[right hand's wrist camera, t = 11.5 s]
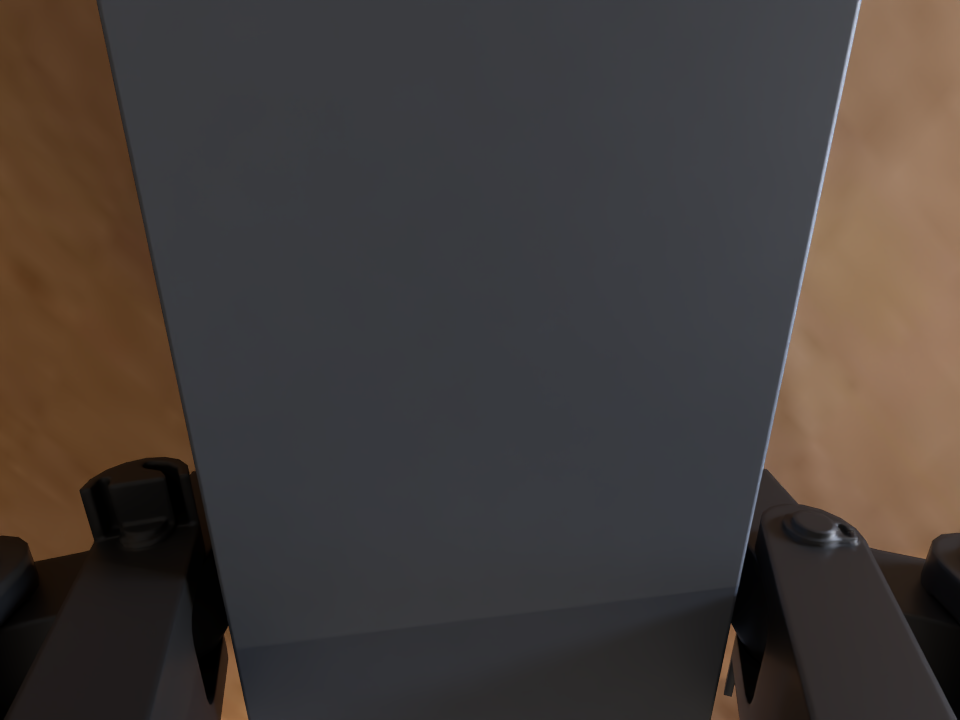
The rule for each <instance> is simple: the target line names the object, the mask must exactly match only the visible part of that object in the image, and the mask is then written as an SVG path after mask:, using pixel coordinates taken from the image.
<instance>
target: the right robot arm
mask: <svg viewBox="0 0 960 720" xmlns="http://www.w3.org/2000/svg"><path fill="white" fill-rule="evenodd" d="M79 491H80V494H81V498H82V501H83V504H84V508H85V511H86V514H87V518H88V521H89V524H90V528H91V531H92V534H93V538H94V543H93V545H92V547H91V549H90V550H89V551H85V552H81V553H76V554H71V555H66V556H61V557H56V558H51V559H46V560H41V561H36V562H34V560H33V557H32V555H31V552H30V549H29V546H28V543H26V542H25V541H23V540H22V539H21V538H19V537H12V536H0V720H221V712H222V704H223V696H224V689H225V681H226V673H227V665H228V653H227V646H226V641H225V637H224V633H225V631H226V629H227V627H228V620H227V615H226V611H225V606H224V601H223V597H222V592H221V587H220V582H219V578H218V573H217V568H216V563H215V559H214V554H213V549H212V544H211V540H210V535H209V530H208V526H207V521H206V516H205V511H204V507H203V502H202V497H201V492H200V488H199V483H198V478H197V473H196V471H193V472H192V473H191V474H189V469H188V465H186V464H185V463H183V462H182V461H181V460H179V459H173V458H168V457H156V458H144V459H140V460H135V461H131V462H126V463H123V464H121V465H118V466H116V467H113V468H110V469H108V470H105V471H104V472H102V473H100V474H99V475H97V476H95V477H93V478H92V479H90V480H89V481H88V482H87V483H86V484H85V485H84V486H83V487H82V488H81V489H80V490H79ZM731 624H732V625H733V627H734V629H735V631H736V637H735V641H734V646H733V651H732V655H731V660H730V665H729V669H728V674H727V679H726V683H725V690H724V695H727V696H731V697H732V693H733V688H734V685H735V687H736V695H737V703H738V711H739V718H740V720H960V533H952V534H941V535H940V536H939V537H937V538H936V539H934V540H933V541H932V544H931V547H930V549H929V552H928V555H927V558H926V559H922V558H917V557H912V556H907V555H901V554H896V553H891V552H886V551H881V550H877V549H873V548H869V546H868V544H867V542H866V540H865V539H864V538H863V537H862V535H861V534H860V533H859V532H858V531H857V529H856V528H854V527H853V526H851V525H850V524H848V523H847V522H846V521H844V520H843V519H841V518H839V517H837V516H835V515H833V514H830V513H828V512H826V511H824V510H821V509H817V508H813V507H809V506H805V505H800V504H798V503H797V502H796V501H795V500H794V499H793V498H792V497H791V496H790V495H789V493H788V492H787V491H786V490H785V489H784V488H783V487H782V486H781V485H780V483H779V482H778V481H777V480H776V479H775V478H774V477H773V476H772V474H771V473H770V472H769V471H768V470H767V469H764V467H763V472H762V477H761V482H760V486H759V491H758V496H757V501H756V506H755V510H754V515H753V520H752V525H751V529H750V534H749V539H748V544H747V548H746V553H745V558H744V563H743V568H742V572H741V577H740V582H739V587H738V591H737V596H736V601H735V606H734V610H733V615H732V620H731Z"/></svg>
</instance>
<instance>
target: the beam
mask: <svg viewBox="0 0 960 720" xmlns="http://www.w3.org/2000/svg"><path fill="white" fill-rule="evenodd" d="M97 5H98V10H99V14H100V19H101V24H102V29H103V33H104V38H105V43H106V48H107V52H108V57H109V62H110V67H111V71H112V76H113V81H114V85H115V90H116V95H117V100H118V104H119V109H120V114H121V119H122V123H123V128H124V133H125V138H126V142H127V147H128V152H129V156H130V161H131V166H132V171H133V175H134V180H135V185H136V190H137V194H138V199H139V204H140V208H141V213H142V218H143V223H144V227H145V232H146V237H147V242H148V246H149V251H150V256H151V261H152V265H153V270H154V275H155V279H156V284H157V289H158V294H159V298H160V303H161V308H162V313H163V317H164V322H165V327H166V332H167V336H168V341H169V346H170V350H171V355H172V360H173V365H174V369H175V374H176V379H177V384H178V388H179V393H180V398H181V403H182V407H183V412H184V417H185V421H186V426H187V431H188V436H189V440H190V445H191V450H192V455H193V459H194V464H195V469H196V473H197V478H198V483H199V488H200V492H201V497H202V502H203V507H204V511H205V516H206V521H207V526H208V530H209V535H210V540H211V544H212V549H213V554H214V559H215V563H216V568H217V573H218V578H219V582H220V587H221V592H222V597H223V601H224V606H225V611H226V615H227V620H228V625H229V630H230V634H231V639H232V644H233V649H234V653H235V658H236V663H237V667H238V672H239V677H240V682H241V686H242V691H243V696H244V701H245V705H246V710H247V715H248V720H711V715H712V711H713V706H714V701H715V696H716V692H717V687H718V682H719V677H720V672H721V668H722V663H723V658H724V653H725V649H726V644H727V639H728V634H729V630H730V625H731V620H732V615H733V610H734V606H735V601H736V596H737V591H738V587H739V582H740V577H741V572H742V568H743V563H744V558H745V553H746V548H747V544H748V539H749V534H750V529H751V525H752V520H753V515H754V510H755V506H756V501H757V496H758V491H759V486H760V482H761V477H762V472H763V467H764V463H765V458H766V453H767V448H768V444H769V439H770V434H771V429H772V424H773V420H774V415H775V410H776V405H777V401H778V396H779V391H780V386H781V382H782V377H783V372H784V367H785V362H786V358H787V353H788V348H789V343H790V339H791V334H792V329H793V324H794V320H795V315H796V310H797V305H798V300H799V296H800V291H801V286H802V281H803V277H804V272H805V267H806V262H807V258H808V253H809V248H810V243H811V238H812V234H813V229H814V224H815V219H816V215H817V210H818V205H819V200H820V196H821V191H822V186H823V181H824V176H825V172H826V167H827V162H828V157H829V153H830V148H831V143H832V138H833V134H834V129H835V124H836V119H837V115H838V110H839V105H840V100H841V95H842V91H843V86H844V81H845V76H846V72H847V67H848V62H849V57H850V53H851V48H852V43H853V38H854V33H855V29H856V24H857V19H858V14H859V10H860V5H861V0H97Z"/></svg>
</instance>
